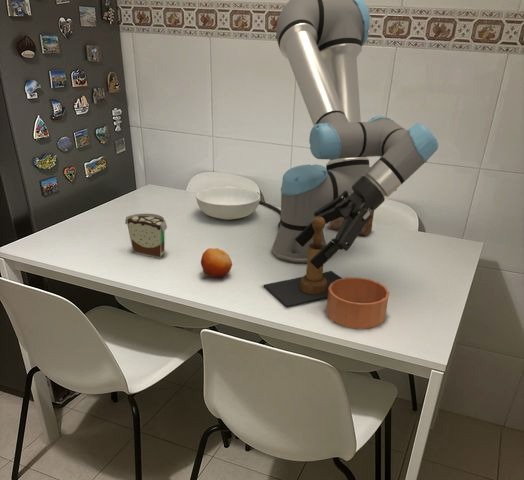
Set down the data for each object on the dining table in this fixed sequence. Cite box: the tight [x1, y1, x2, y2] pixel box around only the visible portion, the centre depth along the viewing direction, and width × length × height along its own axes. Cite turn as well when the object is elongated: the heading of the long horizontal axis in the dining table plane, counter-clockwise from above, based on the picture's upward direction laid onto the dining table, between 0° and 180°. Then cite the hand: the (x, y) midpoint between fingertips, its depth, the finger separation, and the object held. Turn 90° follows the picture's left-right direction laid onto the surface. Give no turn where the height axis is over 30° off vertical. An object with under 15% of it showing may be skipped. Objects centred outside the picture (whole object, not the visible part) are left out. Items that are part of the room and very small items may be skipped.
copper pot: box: [325, 276, 390, 330], centre depth 117 cm, size 13×13×6 cm
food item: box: [328, 209, 375, 236], centre depth 161 cm, size 14×8×10 cm, turn 59°
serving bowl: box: [195, 186, 261, 221], centre depth 171 cm, size 21×21×7 cm
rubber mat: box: [263, 270, 343, 309], centre depth 128 cm, size 12×20×1 cm, turn 117°
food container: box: [124, 212, 168, 259], centre depth 143 cm, size 12×6×10 cm, turn 65°
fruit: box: [200, 247, 233, 280], centre depth 132 cm, size 8×8×8 cm
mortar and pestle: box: [300, 216, 327, 295], centre depth 122 cm, size 7×6×18 cm
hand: (305, 253), depth 122 cm, fingers open, 13 cm apart
